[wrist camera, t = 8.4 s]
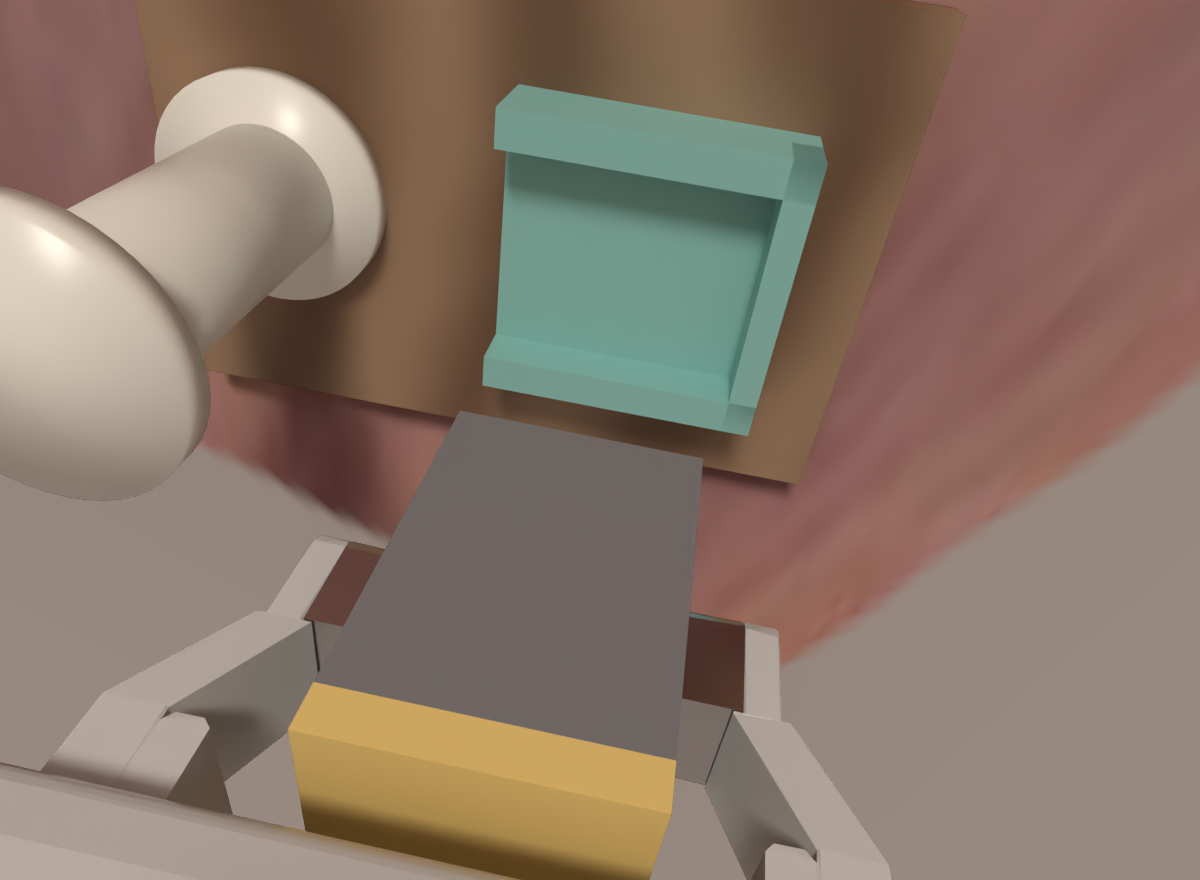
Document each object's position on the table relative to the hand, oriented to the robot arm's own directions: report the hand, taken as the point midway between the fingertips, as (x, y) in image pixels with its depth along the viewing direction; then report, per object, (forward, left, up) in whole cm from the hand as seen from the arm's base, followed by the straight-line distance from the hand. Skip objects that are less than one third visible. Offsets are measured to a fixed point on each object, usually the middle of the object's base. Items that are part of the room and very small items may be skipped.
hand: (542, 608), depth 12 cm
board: (-4, 0, -15) cm, 16 cm away
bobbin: (-11, 0, -14) cm, 18 cm away
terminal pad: (0, 0, -14) cm, 14 cm away
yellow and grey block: (0, 0, -2) cm, 2 cm away
